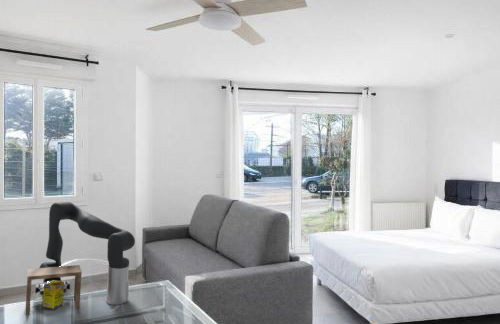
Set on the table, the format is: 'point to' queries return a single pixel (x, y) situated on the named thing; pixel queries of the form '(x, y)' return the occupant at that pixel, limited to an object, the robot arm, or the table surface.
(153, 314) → the table surface
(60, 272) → the walnut shelf
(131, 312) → the table surface
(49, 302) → the supplement box
